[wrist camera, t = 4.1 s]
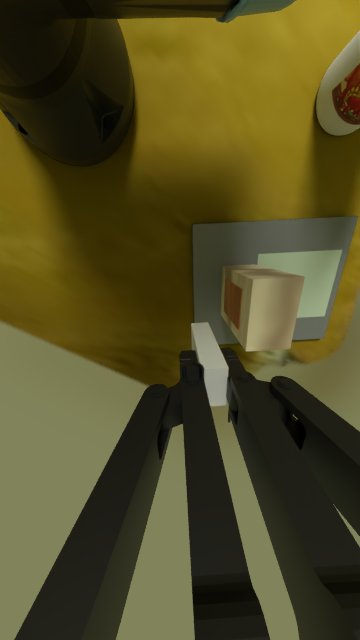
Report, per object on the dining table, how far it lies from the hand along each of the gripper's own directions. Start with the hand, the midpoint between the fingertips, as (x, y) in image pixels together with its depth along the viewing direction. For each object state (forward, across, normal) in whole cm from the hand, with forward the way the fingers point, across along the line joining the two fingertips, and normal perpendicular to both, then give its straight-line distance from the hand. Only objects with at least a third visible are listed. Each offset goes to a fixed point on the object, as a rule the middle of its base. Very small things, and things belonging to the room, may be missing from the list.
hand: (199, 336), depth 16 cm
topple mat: (+16, +13, 0) cm, 20 cm away
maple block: (+15, +8, 0) cm, 17 cm away
